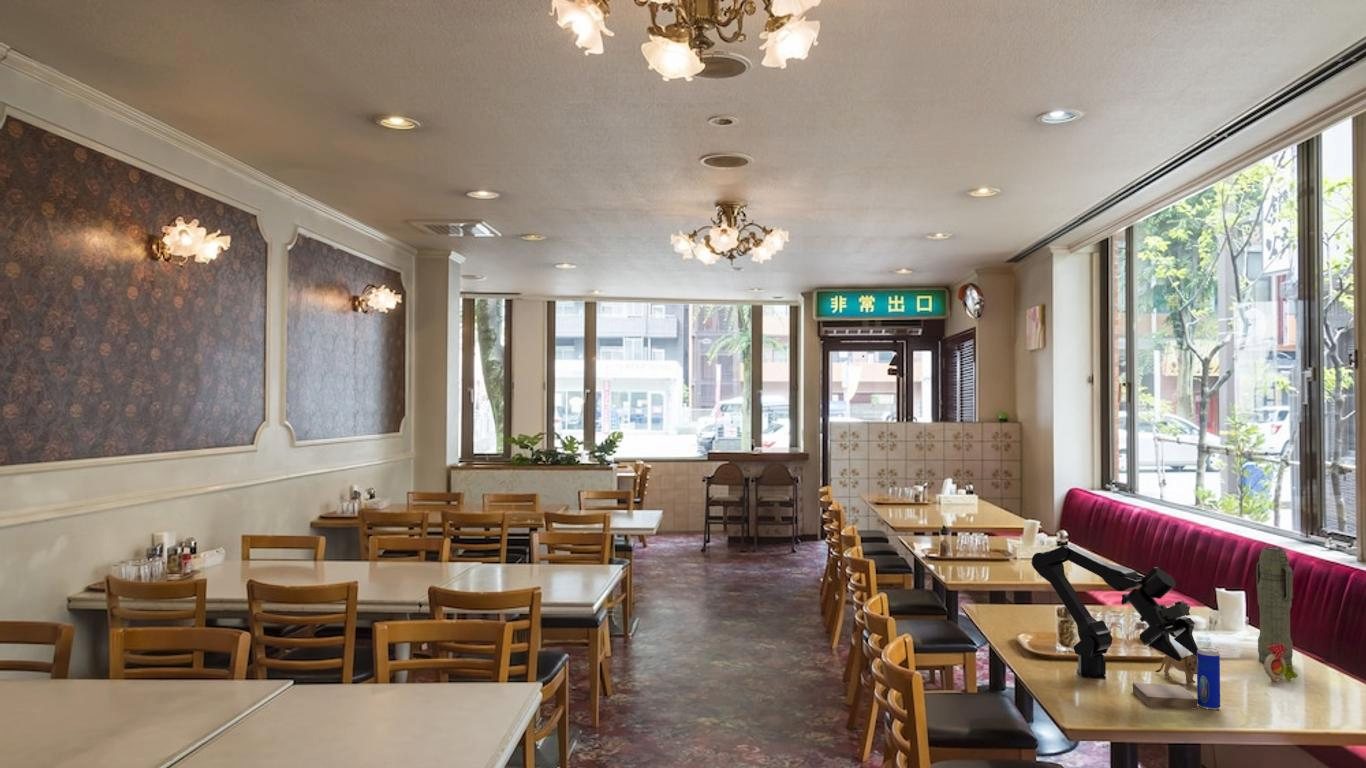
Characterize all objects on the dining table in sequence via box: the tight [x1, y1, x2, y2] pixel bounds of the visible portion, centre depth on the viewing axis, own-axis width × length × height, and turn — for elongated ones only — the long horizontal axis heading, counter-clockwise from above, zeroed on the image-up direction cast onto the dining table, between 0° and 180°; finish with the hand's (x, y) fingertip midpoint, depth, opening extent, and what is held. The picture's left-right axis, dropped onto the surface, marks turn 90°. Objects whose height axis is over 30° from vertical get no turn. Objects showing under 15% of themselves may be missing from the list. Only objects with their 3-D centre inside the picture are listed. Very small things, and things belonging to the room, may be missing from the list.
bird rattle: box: [1263, 643, 1299, 683], centre depth 258 cm, size 6×11×9 cm
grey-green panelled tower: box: [1255, 546, 1294, 666], centre depth 277 cm, size 9×12×35 cm
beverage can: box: [1196, 646, 1221, 710], centre depth 235 cm, size 5×5×15 cm
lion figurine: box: [1154, 653, 1197, 685], centre depth 259 cm, size 15×5×9 cm, turn 35°
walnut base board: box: [1132, 682, 1198, 709], centre depth 240 cm, size 12×12×2 cm
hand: (1189, 657), depth 239 cm, fingers open, 9 cm apart
